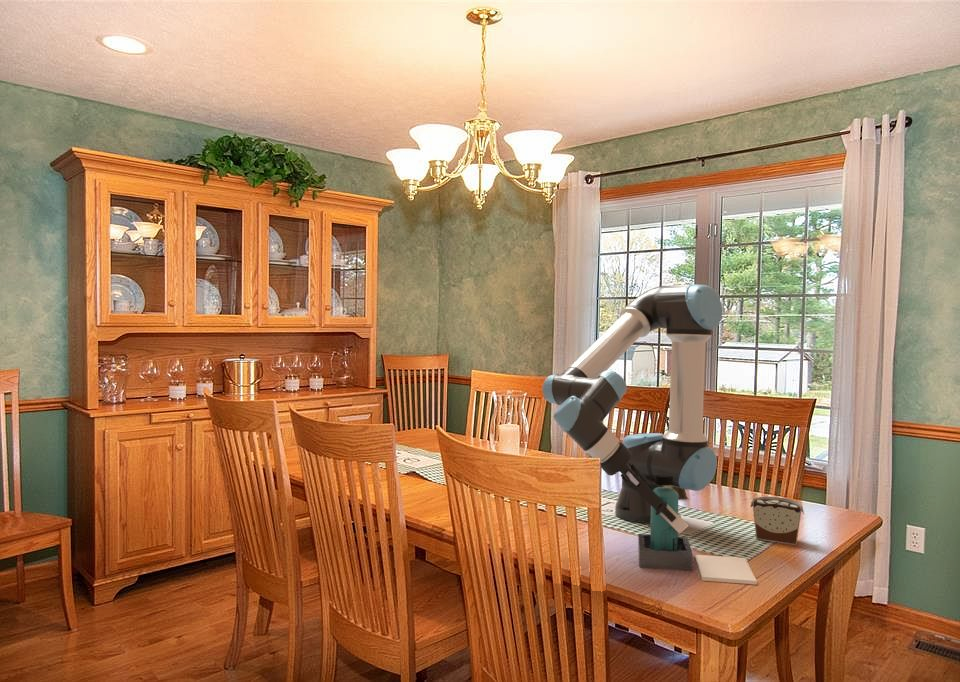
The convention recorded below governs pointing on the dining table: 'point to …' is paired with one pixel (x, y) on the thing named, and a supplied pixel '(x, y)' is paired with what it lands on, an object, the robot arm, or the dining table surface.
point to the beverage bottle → (660, 528)
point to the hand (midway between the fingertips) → (680, 524)
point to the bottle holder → (664, 555)
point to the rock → (678, 491)
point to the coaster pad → (725, 569)
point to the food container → (777, 519)
